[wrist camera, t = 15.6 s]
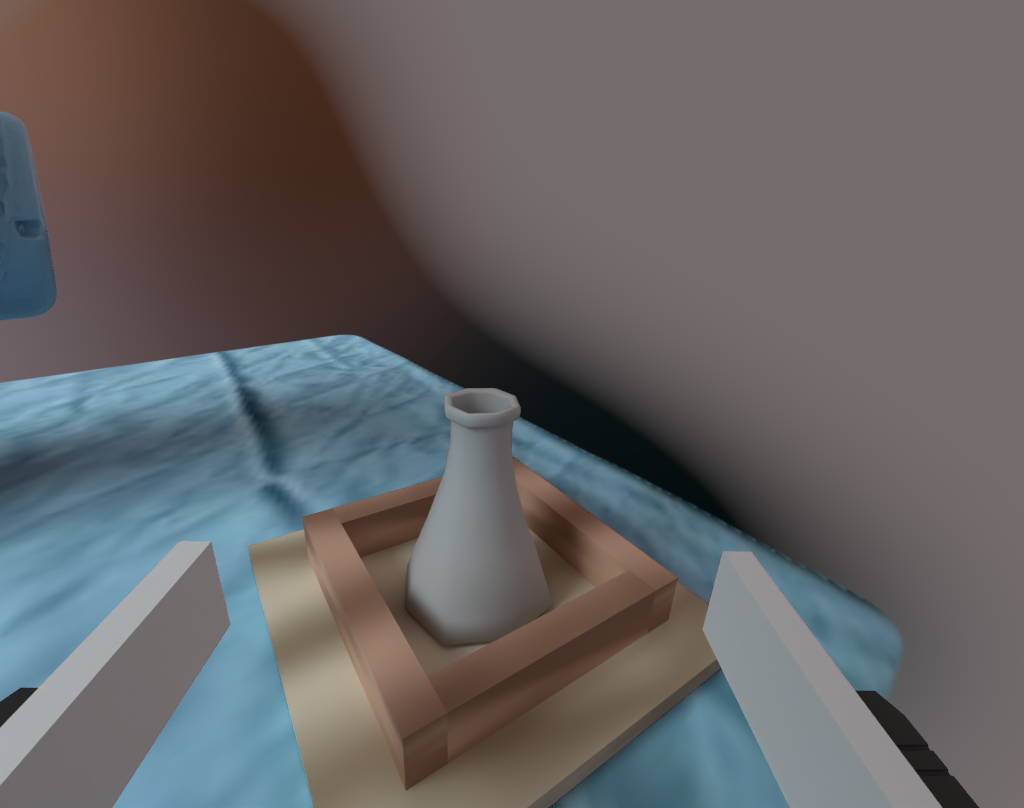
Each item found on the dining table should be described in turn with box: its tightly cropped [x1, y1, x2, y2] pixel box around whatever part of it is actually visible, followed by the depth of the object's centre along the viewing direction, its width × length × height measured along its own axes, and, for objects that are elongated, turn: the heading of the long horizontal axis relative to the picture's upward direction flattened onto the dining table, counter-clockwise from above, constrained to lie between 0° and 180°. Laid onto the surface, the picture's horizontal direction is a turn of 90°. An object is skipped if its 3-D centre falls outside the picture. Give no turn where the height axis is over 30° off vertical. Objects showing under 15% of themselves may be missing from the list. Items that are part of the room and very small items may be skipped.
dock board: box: [248, 457, 721, 808], centre depth 23 cm, size 18×18×4 cm
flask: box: [405, 388, 553, 645], centre depth 22 cm, size 7×7×10 cm
